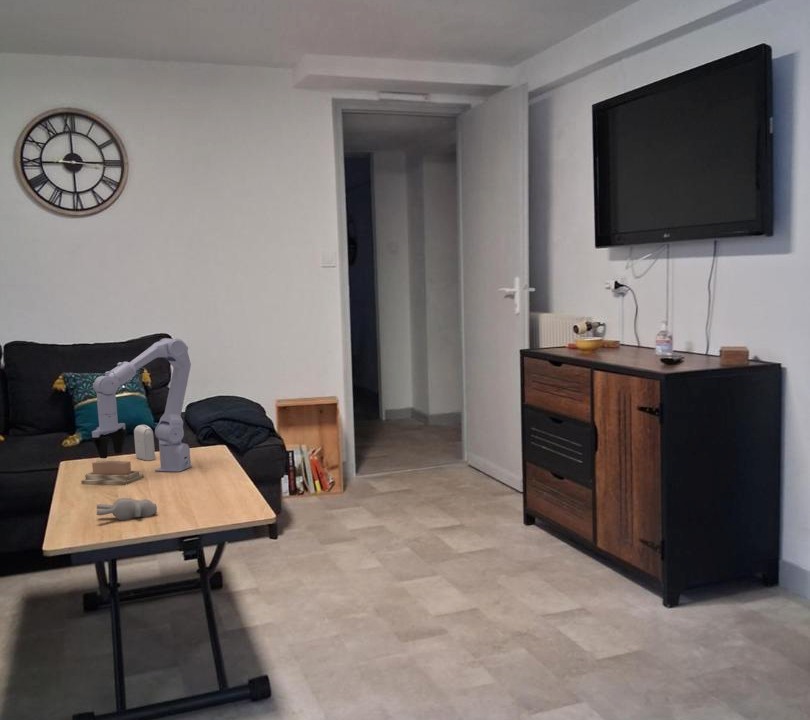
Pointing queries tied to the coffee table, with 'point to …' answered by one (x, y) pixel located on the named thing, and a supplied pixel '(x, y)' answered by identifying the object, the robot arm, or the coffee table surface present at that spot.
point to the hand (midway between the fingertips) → (111, 455)
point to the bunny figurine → (128, 508)
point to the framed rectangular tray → (112, 478)
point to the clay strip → (111, 468)
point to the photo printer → (144, 442)
